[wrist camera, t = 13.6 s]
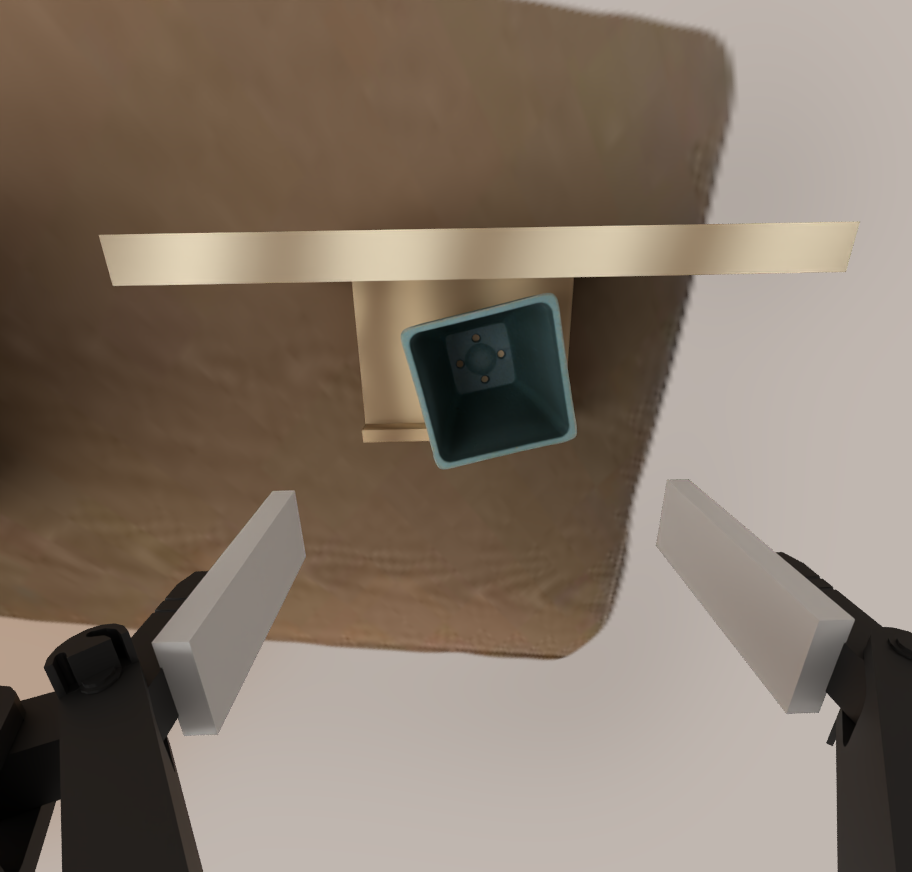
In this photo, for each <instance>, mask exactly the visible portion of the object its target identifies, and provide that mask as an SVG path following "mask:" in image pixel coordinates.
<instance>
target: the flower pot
mask: <svg viewBox="0 0 912 872" xmlns="http://www.w3.org/2000/svg"><path fill="white" fill-rule="evenodd" d="M475 334H477V335H478V336H479V340H478V341H477V342H475V341H473V339H472V337H473V335H475ZM401 342H402V346H403V350H404V353H405V356H406V360H407V363H408V366H409V369H410V373H411V376H412V380H413V382H414V386H415V389H416V393H417V396H418V400H419V403H420V407H421V411H422V414H423V418H424V421H425V425H426V428H427V432H428V436H429V440H430V444H431V448H432V451H433V456H434V460H435V462H436V464H437V466H438V467H439V468H440V469H449V468H454V467H459V466H462V465H466V464H470V463H475V462H479V461H482V460H487V459H491V458H495V457H500V456H504V455H508V454H512V453H516V452H520V451H525V450H529V449H534V448H539V447H543V446H548V445H552V444H558V443H563V442H566V441H569V440H571V439H573V438H575V437H576V435H577V425H576V420H575V413H574V407H573V401H572V394H571V387H570V380H569V374H568V367H567V360H566V353H565V345H564V338H563V331H562V324H561V316H560V308H559V303H558V299H557V297H556V296H555V295H554V294H552V293H543V294H539V295H534V296H529V297H525V298H521V299H517V300H514V301H510V302H506V303H502V304H498V305H494V306H490V307H486V308H482V309H478V310H474V311H470V312H466V313H462V314H458V315H454V316H450V317H446V318H442V319H438V320H434V321H430V322H425V323H421V324H418V325H415V326H411V327H408V328H406V329H404V330H403V331H402V333H401ZM500 350H502V351H503V352H504V356H503V357H499V356H498V351H500ZM460 360H461V361H462V362H463V366H462V367H458V366H457V361H460ZM483 376H487V377H488V380H487V381H486V382H483V381H482V380H481V379H482V377H483Z"/></svg>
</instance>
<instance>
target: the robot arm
mask: <svg viewBox="0 0 912 872" xmlns="http://www.w3.org/2000/svg"><path fill="white" fill-rule="evenodd" d="M656 546H657V548H658V549H659V550H660V552H661V553H662V554H663V555H664V557H665V558H666V559H667V560H668V562H669V563H670V564H671V566H672V567H673V568H674V569H675V571H676V572H677V573H678V575H679V576H680V577H681V579H682V580H683V581H684V582H685V584H686V585H687V586H688V588H689V589H690V590H691V591H692V593H693V594H694V595H695V597H696V598H697V599H698V600H699V602H700V603H701V604H702V606H703V607H704V608H705V609H706V611H707V612H708V613H709V615H710V616H711V617H712V618H713V620H714V621H715V622H716V624H717V625H718V626H719V628H720V629H721V630H722V631H723V632H724V634H725V635H726V636H727V638H728V639H729V640H730V642H731V643H732V644H733V645H734V647H735V648H736V649H737V650H738V652H739V653H740V655H741V656H742V657H743V658H744V660H745V661H746V662H747V663H748V665H749V666H750V667H751V669H752V670H753V671H754V672H755V674H756V675H757V676H758V678H759V679H760V680H761V682H762V683H763V684H764V685H765V687H766V688H767V689H768V691H769V692H770V693H771V694H772V696H773V697H774V698H775V700H776V701H777V702H778V704H779V705H780V706H781V707H782V709H783V710H784V711H785V713H786V714H792V713H819V711H820V708H821V706H822V703H823V701H824V698H825V696H826V693H828V695H829V696H830V697H831V698H832V699H833V700H834V701H835V702H836V703H837V705H839V707H840V711H839V713H838V715H837V718H836V720H835V723H834V725H833V728H832V730H831V732H830V735H829V737H828V740H827V742H826V743H827V744H829V745H831V746H833V744H834V742H835V740H836V766H837V767H836V772H837V845H838V846H837V848H838V849H837V851H838V872H912V633H911V632H908V631H904V630H900V629H897V628H891V627H882V626H881V625H879V624H878V623H877V622H876V621H874V620H873V619H872V618H871V617H870V616H868V615H867V614H866V613H865V612H863V611H862V610H861V609H860V608H858V607H857V606H856V605H855V604H853V603H852V602H851V601H850V600H848V599H847V598H846V597H845V596H843V595H842V594H841V593H840V592H839V591H837V590H834V589H833V587H832V586H831V585H830V584H829V583H827V582H826V581H825V580H824V579H820V577H819V575H817V574H816V573H815V572H814V571H812V570H811V569H810V568H809V567H807V566H806V565H805V564H804V563H802V562H800V561H798V560H796V559H794V558H792V557H791V556H789V555H787V554H785V553H783V552H774V551H773V550H772V549H771V548H770V547H768V546H767V545H766V544H765V543H764V542H762V541H761V540H760V539H759V538H758V537H756V536H755V535H754V534H753V533H752V532H750V531H749V530H748V529H747V528H746V527H745V526H744V525H742V524H741V523H740V522H739V521H738V520H736V519H735V518H734V517H733V516H732V515H730V514H729V513H728V512H727V511H726V510H725V509H723V508H722V507H721V506H720V505H719V504H717V503H716V502H715V501H714V500H713V499H711V498H710V497H709V496H708V495H707V494H706V493H704V492H703V491H702V490H701V489H700V488H698V487H697V486H696V485H695V484H694V483H692V482H691V481H690V480H689V479H676V480H667V483H666V489H665V495H664V501H663V507H662V513H661V519H660V525H659V531H658V536H657V543H656ZM305 557H306V554H305V548H304V542H303V536H302V530H301V524H300V519H299V513H298V507H297V501H296V495H295V490H290V491H272V492H271V494H270V495H269V496H268V497H267V499H266V500H265V501H264V503H263V504H262V505H261V506H260V508H259V509H258V510H257V511H256V513H255V514H254V515H253V516H252V518H251V519H250V520H249V521H248V523H247V524H246V525H245V526H244V528H243V529H242V530H241V531H240V533H239V534H238V535H237V536H236V538H235V539H234V540H233V541H232V543H231V544H230V545H229V546H228V548H227V549H226V550H225V551H224V553H223V554H222V555H221V556H220V558H219V559H218V560H217V561H216V563H215V564H214V565H213V566H212V568H211V569H210V570H209V571H200V572H194V573H193V574H191V575H190V576H189V577H187V578H186V579H184V580H183V581H181V582H180V583H179V584H177V585H176V587H175V588H174V589H173V590H172V591H171V592H170V594H169V595H168V596H167V597H166V598H165V601H163V602H162V603H161V604H160V605H159V606H158V607H157V609H156V610H155V613H152V614H151V615H150V617H149V618H148V619H147V620H146V621H145V622H144V624H143V625H142V626H141V627H140V628H139V629H138V631H137V632H136V633H135V634H134V635H133V636H132V637H130V635H129V632H128V630H127V629H126V628H125V627H124V626H123V625H119V624H105V625H100V626H96V627H93V628H90V629H87V630H85V631H83V632H81V633H79V634H77V635H75V636H73V637H71V638H69V639H68V640H67V641H65V642H64V643H62V644H61V645H60V646H58V647H57V648H56V649H55V650H54V651H53V652H52V653H51V655H50V656H49V657H48V658H47V660H46V663H45V666H44V669H45V671H46V673H47V676H48V677H49V680H50V682H51V684H52V686H53V688H54V690H55V692H52V693H48V694H44V695H41V696H37V697H34V698H30V699H26V700H22V701H20V699H19V697H18V696H17V694H16V692H15V691H14V690H13V689H12V688H11V687H9V686H0V872H35V869H36V866H37V863H38V859H39V856H40V853H41V850H42V846H43V843H44V839H45V836H46V833H47V829H48V826H49V823H50V820H51V816H52V813H53V810H54V806H55V803H56V801H57V800H60V799H61V832H62V833H61V834H62V835H61V836H62V872H203V869H202V865H201V862H200V858H199V854H198V850H197V846H196V842H195V839H194V835H193V831H192V827H191V823H190V819H189V816H188V811H187V808H186V804H185V800H184V796H183V792H182V789H181V785H180V781H179V777H178V773H177V769H176V766H175V762H174V758H173V754H172V750H171V746H170V743H169V740H168V738H167V735H168V733H169V731H170V730H171V728H172V726H173V725H174V723H175V721H176V720H177V718H178V720H179V723H180V726H181V729H182V732H183V735H184V736H191V735H218V733H219V731H220V729H221V727H222V725H223V723H224V721H225V719H226V717H227V715H228V713H229V711H230V709H231V707H232V705H233V703H234V701H235V699H236V697H237V695H238V693H239V691H240V689H241V687H242V684H243V683H244V681H245V678H246V677H247V674H248V672H249V670H250V668H251V666H252V664H253V662H254V660H255V658H256V656H257V654H258V652H259V650H260V648H261V646H262V644H263V642H264V640H265V638H266V636H267V634H268V632H269V630H270V628H271V626H272V624H273V622H274V620H275V618H276V616H277V614H278V612H279V610H280V608H281V606H282V604H283V602H284V600H285V598H286V596H287V594H288V592H289V590H290V588H291V586H292V584H293V582H294V579H295V577H296V575H297V573H298V571H299V569H300V567H301V565H302V563H303V561H304V559H305Z"/></svg>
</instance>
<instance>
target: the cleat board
mask: <svg viewBox="0 0 912 872" xmlns="http://www.w3.org/2000/svg"><path fill="white" fill-rule="evenodd" d="M859 223H860V222H814V223H813V222H811V223H752V224H695V225H638V226H580V227H523V228H466V229H408V230H351V231H294V232H236V233H179V234H122V235H99V238H100V242H101V245H102V249H103V252H104V256H105V260H106V263H107V267H108V270H109V274H110V277H111V281H112V285H113V286H135V285H187V284H240V283H293V282H345V281H352V288H353V299H354V309H355V319H356V330H357V340H358V350H359V361H360V371H361V381H362V392H363V402H364V413H365V423H366V424H365V426H364V428H363V430H362V433H363V442H402V441H430V440H429V436H428V432H427V428H426V425H425V421H424V418H423V414H422V411H421V407H420V403H419V400H418V396H417V393H416V389H415V386H414V382H413V380H412V376H411V373H410V369H409V366H408V363H407V360H406V356H405V353H404V350H403V346H402V342H401V333H402V331H403V330H404V329H406V328H408V327H411V326H415V325H418V324H421V323H425V322H430V321H434V320H438V319H442V318H446V317H450V316H454V315H458V314H462V313H466V312H470V311H474V310H478V309H482V308H486V307H490V306H494V305H498V304H502V303H506V302H510V301H514V300H517V299H521V298H525V297H529V296H534V295H539V294H543V293H552V294H554V295H555V296H556V297H557V299H558V303H559V308H560V316H561V324H562V331H563V338H564V345H565V353H566V360H567V366H568V352H569V339H570V325H571V312H572V298H573V285H574V277H608V276H661V275H708V274H709V275H714V274H766V273H817V272H818V273H819V272H846V269H847V266H848V262H849V259H850V255H851V251H852V248H853V244H854V241H855V237H856V233H857V230H858V226H859ZM472 339H473V341H475V342H477V341H478V340H479V336H478V335H477V334H475V335H473V337H472ZM498 356H499V357H503V356H504V352H503V351H502V350H500V351H498ZM457 366H458V367H462V366H463V362H462V361H461V360H460V361H457ZM481 380H482V381H483V382H486V381H487V380H488V377H487V376H483V377H482V379H481Z"/></svg>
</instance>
